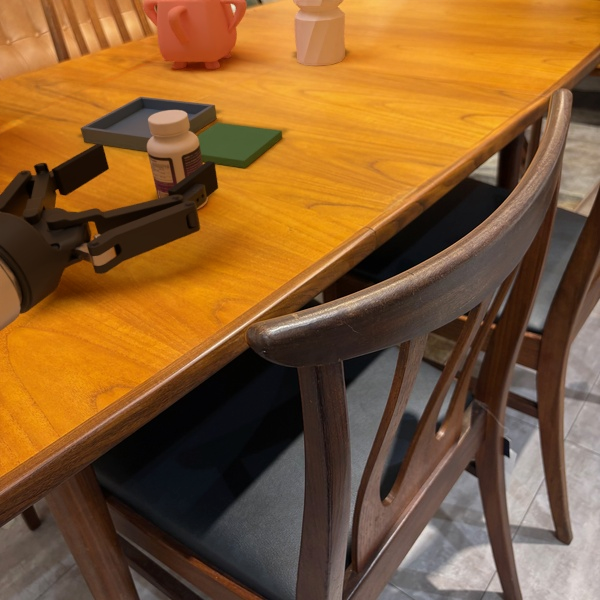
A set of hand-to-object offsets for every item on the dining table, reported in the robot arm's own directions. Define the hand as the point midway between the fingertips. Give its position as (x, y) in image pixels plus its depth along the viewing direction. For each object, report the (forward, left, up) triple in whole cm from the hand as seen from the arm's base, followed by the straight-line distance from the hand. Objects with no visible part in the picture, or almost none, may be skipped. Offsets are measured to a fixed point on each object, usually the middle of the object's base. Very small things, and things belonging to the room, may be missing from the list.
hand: (156, 164), depth 61 cm
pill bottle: (0, +3, -6) cm, 7 cm away
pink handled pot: (-29, +52, -6) cm, 60 cm away
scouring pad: (-3, +18, -6) cm, 19 cm away
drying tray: (-17, +20, -6) cm, 27 cm away
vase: (-8, +58, -6) cm, 59 cm away
